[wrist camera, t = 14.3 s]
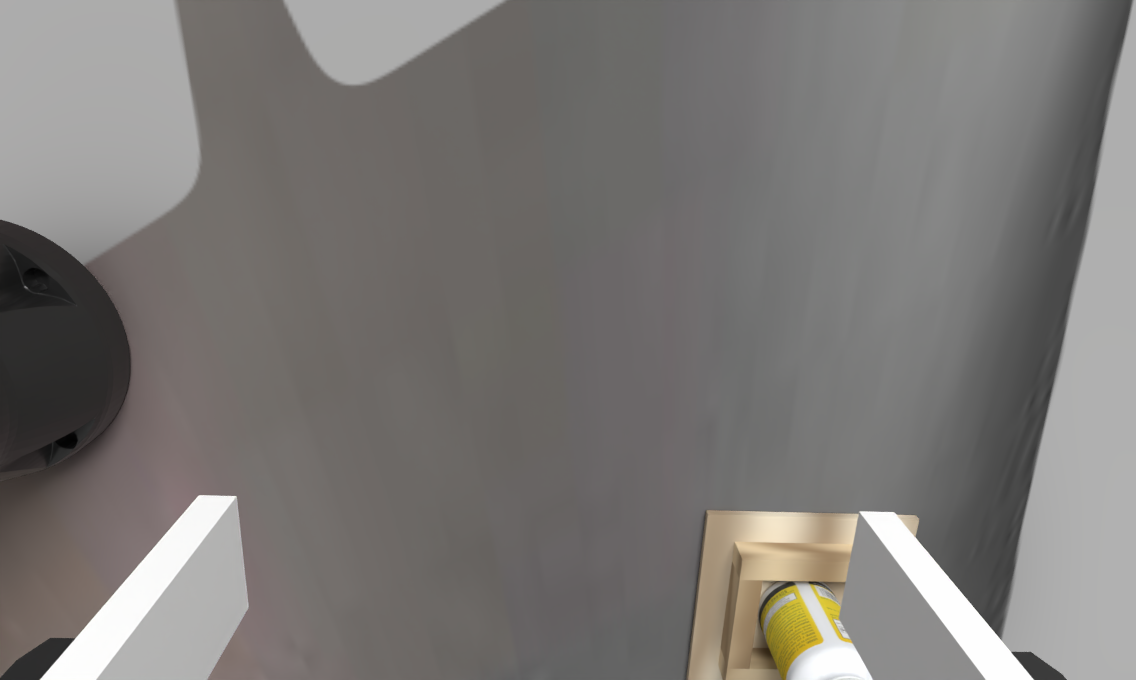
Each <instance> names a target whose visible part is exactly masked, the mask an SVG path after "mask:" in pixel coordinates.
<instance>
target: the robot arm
mask: <svg viewBox="0 0 1136 680" xmlns="http://www.w3.org/2000/svg"><path fill="white" fill-rule="evenodd" d="M129 376H130V355H129V347H128V342H127V338H126V334H125V330H124V327H123V325H122V322H121V319H120V317H119V315H118V313H117V311H116V309H115V307H114V305H113V303H112V301H111V300H110V298H109V296H108V295H107V293H106V292H105V290H104V289H103V288H102V286H101V285H100V284H99V282H98V281H97V280H96V279H95V277H94V276H93V275H92V274H91V273H90V272H89V271H88V270H87V269H86V268H85V267H84V266H83V265H82V264H81V263H80V262H79V261H78V260H77V259H75V258H74V257H73V256H72V255H71V254H69V253H68V252H67V251H65V250H64V249H63V248H61V247H60V246H58V245H57V244H55V243H54V242H52V241H50V240H49V239H47V238H45V237H44V236H42V235H40V234H38V233H36V232H34V231H32V230H29V229H27V228H24V227H22V226H19V225H16V224H13V223H10V222H7V221H3V220H0V481H4V480H8V479H12V478H15V477H19V476H23V475H27V474H31V473H34V472H38V471H41V470H44V469H46V468H49V467H51V466H53V465H56V464H58V463H60V462H62V461H64V460H65V459H67V458H69V457H70V456H72V455H73V454H75V453H76V452H78V451H79V450H80V449H82V448H83V447H84V446H85V445H87V444H88V443H89V442H91V441H92V440H93V439H95V438H96V437H97V436H98V435H99V434H101V433H102V432H103V431H104V430H105V429H106V428H107V427H108V425H109V424H110V423H111V422H112V420H113V419H114V417H115V416H116V414H117V413H118V411H119V409H120V407H121V405H122V403H123V400H124V398H125V395H126V391H127V387H128V383H129ZM248 608H249V606H248V597H247V587H246V578H245V569H244V560H243V550H242V541H241V532H240V522H239V513H238V504H237V496H206V495H199V496H198V497H197V498H196V499H195V501H194V502H193V503H192V504H191V505H190V506H189V507H188V509H187V510H186V511H185V512H184V513H183V514H182V516H181V517H180V518H179V519H178V520H177V521H176V523H175V524H174V525H173V526H172V527H171V528H170V530H169V531H168V532H167V533H166V534H165V535H164V536H163V538H162V539H161V540H160V541H159V542H158V543H157V545H156V546H155V547H154V548H153V549H152V550H151V552H150V553H149V554H148V555H147V556H146V557H145V559H144V560H143V561H142V562H141V563H140V564H139V565H138V567H137V568H136V569H135V570H134V571H133V572H132V574H131V575H130V576H129V577H128V578H127V579H126V581H125V582H124V583H123V584H122V585H121V586H120V587H119V589H118V590H117V591H116V592H115V593H114V594H113V596H112V597H111V598H110V599H109V600H108V601H107V603H106V604H105V605H104V606H103V607H102V608H101V610H100V611H99V612H98V613H97V614H96V615H95V616H94V618H93V619H92V620H91V621H90V622H89V623H88V625H87V626H86V627H85V628H84V629H83V630H82V632H81V633H80V634H79V635H78V636H77V637H76V638H50V639H48V640H47V641H45V642H44V643H42V644H41V645H39V646H38V647H36V648H35V649H33V650H32V651H30V652H28V653H27V654H25V655H24V656H22V657H21V658H19V659H18V660H16V662H15V663H14V664H13V665H12V666H11V667H10V668H9V669H8V670H7V671H6V672H5V673H4V674H3V676H2V677H1V678H0V680H207V679H208V677H209V675H210V674H211V672H212V670H213V668H214V667H215V665H216V663H217V661H218V660H219V658H220V656H221V655H222V653H223V651H224V649H225V648H226V646H227V644H228V642H229V641H230V639H231V637H232V635H233V634H234V632H235V630H236V629H237V627H238V625H239V623H240V622H241V620H242V618H243V616H244V615H245V613H246V611H247V609H248ZM839 620H840V622H841V623H842V625H843V627H844V629H845V630H846V632H847V634H848V636H849V638H850V639H851V641H852V643H853V645H854V647H855V648H856V650H857V652H858V654H859V655H860V657H861V659H862V661H863V663H864V664H865V666H866V668H867V670H868V672H869V673H870V675H871V677H872V679H873V680H1067V679H1066V678H1065V677H1064V676H1063V675H1062V674H1061V673H1059V672H1058V671H1057V670H1055V669H1054V668H1052V667H1051V666H1050V665H1048V664H1047V663H1045V662H1044V661H1043V660H1041V659H1040V658H1038V657H1037V656H1035V655H1034V654H1033V653H1031V652H1010V651H1009V649H1008V648H1007V647H1006V646H1005V645H1004V643H1003V642H1002V641H1001V640H1000V639H999V637H998V636H997V635H996V634H995V633H994V631H993V630H992V629H991V628H990V627H989V625H988V624H987V623H986V622H985V621H984V619H983V618H982V617H981V616H980V615H979V613H978V612H977V611H976V610H975V609H974V607H973V606H972V605H971V604H970V603H969V601H968V600H967V599H966V598H965V597H964V595H963V594H962V593H961V592H960V591H959V589H958V588H957V587H956V586H955V585H954V583H953V582H952V581H951V580H950V579H949V577H948V576H947V575H946V574H945V573H944V571H943V570H942V569H941V568H940V567H939V565H938V564H937V563H936V562H935V561H934V559H933V558H932V557H931V556H930V555H929V553H928V552H927V551H926V550H925V549H924V547H923V546H922V545H921V544H920V543H919V541H918V540H917V539H916V538H915V537H914V535H913V534H912V533H911V532H910V531H909V529H908V528H907V527H906V526H905V525H904V523H903V522H902V521H901V520H900V519H899V518H898V516H897V515H896V514H895V513H894V512H859V515H858V520H857V526H856V531H855V536H854V541H853V546H852V552H851V557H850V562H849V567H848V572H847V577H846V583H845V588H844V593H843V598H842V603H841V609H840V614H839Z"/></svg>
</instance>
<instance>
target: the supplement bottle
mask: <svg viewBox="0 0 1136 680" xmlns="http://www.w3.org/2000/svg"><path fill="white" fill-rule="evenodd" d="M840 609H841V605H840V603H839V602H838V600H837V598H836V597H835V595H834V594H833V592H832V591H831V589H830V588H829V587H828V586H827V585H826V584H825V583H823V582H816V581H778V582H776V583H774V584H773V585H772V586H770V587H769V588H768V589H767V590H766V591H765V593H764V594H763V596H762V597H761V599H760V603H759V609H758V620H759V623H760V627H761V630H762V632H763V634H764V637H765V639H766V642H767V644H768V647H769V649H770V651H771V654H772V656H773V659H774V661H775V663H776V666H777V668H778V671H779V673H780V676H781V678H782V680H873V679H872V677H871V675H870V673H869V672H868V670H867V668H866V666H865V664H864V663H863V661H862V659H861V657H860V655H859V654H858V652H857V650H856V648H855V647H854V645H853V643H852V641H851V639H850V638H849V636H848V634H847V632H846V630H845V629H844V627H843V625H842V623H841V622H840V620H839V614H840Z"/></svg>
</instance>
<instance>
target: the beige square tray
mask: <svg viewBox="0 0 1136 680" xmlns="http://www.w3.org/2000/svg"><path fill="white" fill-rule="evenodd" d="M858 515H859V514H839V513H798V512H757V511H716V510H706V517H705V525H704V534H703V542H702V550H701V559H700V567H699V576H698V584H697V593H696V601H695V609H694V618H693V626H692V635H691V643H690V652H689V660H688V668H687V677H686V680H782V678H781V676H780V673H779V671H778V668H777V666H776V663H775V661H774V659H773V656H772V654H771V651H770V649H769V647H768V644H767V642H766V639H765V637H764V634H763V632H762V630H761V627H760V623H759V620H758V609H759V603H760V599H761V597H762V596H763V594H764V593H765V591H766V590H767V589H768V588H769V587H770V586H772V585H773V584H774V583H776V582H778V581H816V582H823V583H825V584H826V585H827V586H828V587H829V588H830V589H831V591H832V592H833V594H834V595H835V597H836V598H837V600H838V602H839V603H840V605H841V603H842V598H843V593H844V588H845V583H846V577H847V572H848V567H849V562H850V557H851V552H852V546H853V541H854V536H855V531H856V526H857V520H858ZM897 516H898V518H899V519H900V520H901V521H902V522H903V523H904V525H905V526H906V527H907V528H908V529H909V531H910V532H911V533H912V534H913V535H914V537H915V536H916V532H917V527H918V523H919V519H918V518H917V516H916V515H897Z"/></svg>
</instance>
